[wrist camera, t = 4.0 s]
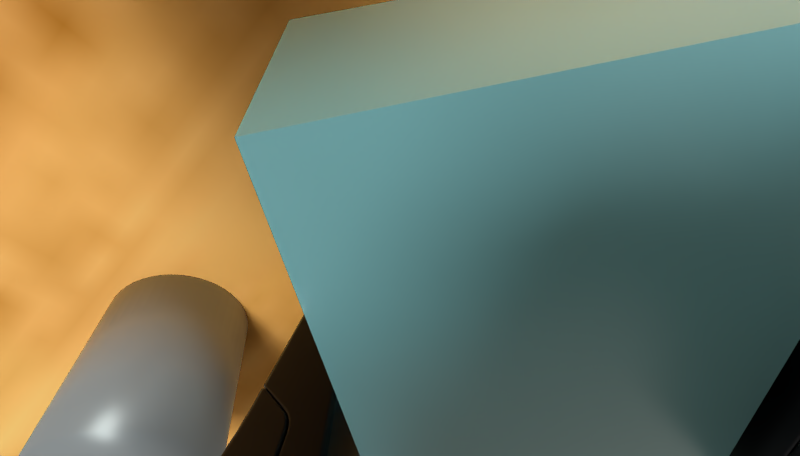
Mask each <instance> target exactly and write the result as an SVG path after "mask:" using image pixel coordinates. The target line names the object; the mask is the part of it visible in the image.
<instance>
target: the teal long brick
mask: <svg viewBox="0 0 800 456" xmlns="http://www.w3.org/2000/svg"><path fill="white" fill-rule="evenodd" d="M234 138H235V140H236V143H237V145H238V148H239V150H240V153H241V155H242V158H243V160H244V163H245V166H246V168H247V171H248V173H249V176H250V178H251V181H252V183H253V186H254V188H255V191H256V193H257V196H258V199H259V201H260V204H261V206H262V209H263V211H264V214H265V216H266V219H267V221H268V224H269V226H270V229H271V232H272V234H273V237H274V239H275V242H276V244H277V247H278V249H279V252H280V254H281V257H282V259H283V262H284V264H285V267H286V270H287V272H288V275H289V277H290V280H291V282H292V285H293V287H294V290H295V292H296V295H297V297H298V300H299V303H300V305H301V308H302V310H303V313H304V315H305V318H306V320H307V323H308V325H309V328H310V330H311V333H312V336H313V338H314V341H315V343H316V346H317V348H318V351H319V353H320V356H321V358H322V361H323V363H324V366H325V369H326V371H327V374H328V376H329V379H330V381H331V384H332V386H333V389H334V391H335V394H336V396H337V399H338V401H339V404H340V407H341V409H342V412H343V414H344V417H345V419H346V422H347V424H348V427H349V429H350V432H351V434H352V437H353V440H354V442H355V445H356V447H357V450H358V452H359V455H360V456H729V455H730V454H731V452H732V450H733V449H734V447H735V445H736V444H737V442H738V440H739V439H740V437H741V435H742V434H743V432H744V431H745V429H746V427H747V426H748V424H749V422H750V421H751V419H752V417H753V416H754V414H755V412H756V411H757V409H758V407H759V406H760V404H761V402H762V401H763V399H764V397H765V396H766V394H767V393H768V391H769V389H770V388H771V386H772V384H773V383H774V381H775V379H776V378H777V376H778V374H779V373H780V371H781V369H782V368H783V366H784V364H785V363H786V361H787V359H788V358H789V356H790V355H791V353H792V351H793V350H794V348H795V346H796V345H797V343H798V341H799V340H800V0H394V1H388V2H383V3H377V4H372V5H366V6H361V7H356V8H350V9H345V10H339V11H334V12H329V13H323V14H318V15H312V16H307V17H301V18H296V19H291V20H289V22H288V24H287V26H286V28H285V30H284V32H283V34H282V37H281V39H280V41H279V43H278V45H277V47H276V49H275V52H274V54H273V56H272V58H271V60H270V62H269V64H268V66H267V69H266V71H265V73H264V75H263V77H262V79H261V81H260V84H259V86H258V88H257V90H256V92H255V94H254V96H253V99H252V101H251V103H250V105H249V107H248V109H247V111H246V113H245V116H244V118H243V120H242V122H241V124H240V126H239V128H238V131H237V133H236V135H235V137H234Z"/></svg>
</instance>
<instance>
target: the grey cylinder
mask: <svg viewBox="0 0 800 456" xmlns="http://www.w3.org/2000/svg"><path fill="white" fill-rule="evenodd" d="M247 331H248V319H247V315H246V312H245V310H244V308H243V307H242V305H241V304H240V302H239V301H238V300H237V299H236V298H235V297H234V296H233V295H232V294H231V293H229V292H228V291H226V290H225V289H223V288H222V287H220V286H218V285H216V284H214V283H212V282H209V281H206V280H203V279H200V278H196V277H191V276H185V275H158V276H152V277H148V278H144V279H141V280H139V281H136V282H134V283H132V284H130V285H128V286H126V287H125V288H124V289H122V290H121V291H120V292H119V293H118V294H117V295H116V296H115V297H114V299H113V301H112V302H111V304H110V305H109V307H108V309H107V310H106V312H105V314H104V315H103V317H102V319H101V320H100V322H99V324H98V325H97V327H96V329H95V330H94V332H93V334H92V335H91V337H90V339H89V340H88V342H87V343H86V345H85V347H84V348H83V350H82V352H81V353H80V355H79V357H78V358H77V360H76V362H75V363H74V365H73V367H72V368H71V370H70V372H69V373H68V375H67V377H66V378H65V380H64V382H63V383H62V385H61V386H60V388H59V390H58V391H57V393H56V395H55V396H54V398H53V400H52V401H51V403H50V405H49V406H48V408H47V410H46V411H45V413H44V415H43V416H42V418H41V420H40V421H39V423H38V424H37V426H36V428H35V429H34V431H33V433H32V434H31V436H30V438H29V439H28V441H27V443H26V444H25V446H24V448H23V449H22V451H21V453H20V454H19V456H221V455H222V453H223V452H224V450H225V449H226V445H227V439H228V434H229V428H230V423H231V418H232V412H233V407H234V401H235V396H236V391H237V385H238V380H239V374H240V369H241V363H242V358H243V353H244V347H245V342H246V336H247Z"/></svg>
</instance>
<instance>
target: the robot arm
mask: <svg viewBox="0 0 800 456" xmlns="http://www.w3.org/2000/svg"><path fill="white" fill-rule="evenodd" d="M221 456H360V455H359V452H358V450H357V447H356V445H355V442H354V440H353V437H352V434H351V432H350V429H349V427H348V424H347V422H346V419H345V417H344V414H343V412H342V409H341V407H340V404H339V401H338V399H337V396H336V394H335V391H334V389H333V386H332V384H331V381H330V379H329V376H328V374H327V371H326V369H325V366H324V363H323V361H322V358H321V356H320V353H319V351H318V348H317V346H316V343H315V341H314V338H313V336H312V333H311V330H310V328H309V325H308V323H307V320H306V318H305V315H303V317H302V319H301V321H300V322H299V324H298V326H297V328H296V330H295V331H294V333H293V335H292V337H291V338H290V340H289V342H288V344H287V345H286V347H285V349H284V351H283V353H282V354H281V356H280V358H279V360H278V361H277V363H276V365H275V367H274V369H273V370H272V372H271V374H270V376H269V377H268V379H267V381H266V383H265V384H264V388H263V389H261V391H260V393H259V395H258V397H257V398H256V400H255V402H254V404H253V405H252V407H251V409H250V410H249V412H248V414H247V415H246V417H245V419H244V420H243V422H242V424H241V425H240V427H239V429H238V430H237V432H236V434H235V435H234V437H233V438H232V440H231V441H230V443H229V444H228V446H227V447H226V449H225V450H224V452H223V453H222V455H221ZM729 456H800V340H799V341H798V343H797V345H796V346H795V348H794V350H793V351H792V353H791V355H790V356H789V358H788V359H787V361H786V363H785V364H784V366H783V368H782V369H781V371H780V373H779V374H778V376H777V378H776V379H775V381H774V383H773V384H772V386H771V388H770V389H769V391H768V393H767V394H766V396H765V397H764V399H763V401H762V402H761V404H760V406H759V407H758V409H757V411H756V412H755V414H754V416H753V417H752V419H751V421H750V422H749V424H748V426H747V427H746V429H745V431H744V432H743V434H742V435H741V437H740V439H739V440H738V442H737V444H736V445H735V447H734V449H733V450H732V452H731V454H730V455H729Z"/></svg>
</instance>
